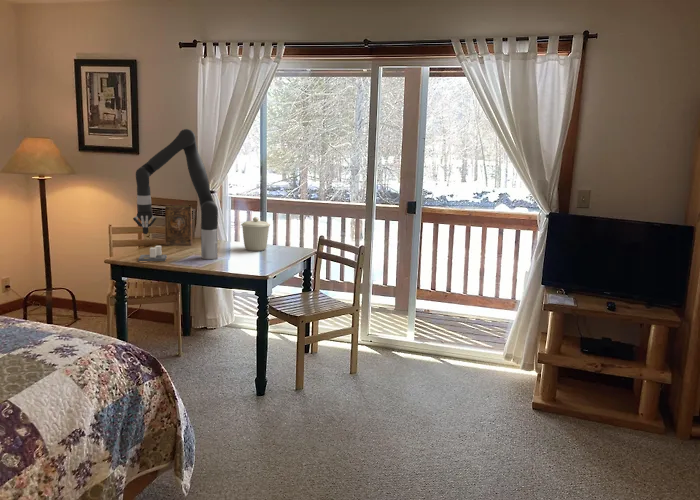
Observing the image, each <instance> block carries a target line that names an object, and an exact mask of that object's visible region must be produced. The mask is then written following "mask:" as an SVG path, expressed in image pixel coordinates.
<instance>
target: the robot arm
mask: <svg viewBox="0 0 700 500" xmlns="http://www.w3.org/2000/svg"><path fill="white" fill-rule="evenodd" d="M182 150H183V152H184V154H185V159H186V166H187V170H188V174H189V177H190V180H191V183H192V185H193V188H194V189H195V192H196V194H197V196H198V201H199V207H200V216H201V218H200V220H201V221H200V222H201V223H200V235H201V237H200V240H201V241H200V244H201V245H200V249H201V250H200V251H201V253H200V255H201V259H203V260H216V259H217V260H218V252H219V251H218V225H219V223H218V222H219V220H218V217H219V209H218V206H217V204H216V203H215V200H214V198H213V196H212V193H211V189H210V184H209V178H208V173H207V171H206V166H205V165H204V163H203V160H202V158H201V156H200V153H199V150H198V146H197V141H196V135H195V132H194V131H193V130H192V129H188V128H184V129H182V130H180V131H179V132H178V134H177V136H176V137H175V138H174V139H173V140H172V141H171V142H170V143H169V144H168V145H166V146H165V147H164V148H162V149H161V150H160V151H158V152H157V153H156V154H154V155H153V156H152V157H151V158H150V159H148V161H147V162H145V163H144V164H143V165H141V166H140V167H138V168H137V169H136V171H135V182H136V196H137V197H136V207H137V208H136V209H137V214H136V216H134V217H133V218H132V220H133V221H134V222H135V223H136V224H137V225H138V226H139V227H141V228H142V233H143V234H144V235H147V234H148V233H149V228H150V227H151V226H152V225H153V224H154V223H155V222H156V220H157V219H158V217H156V216H154V215H153V211H152V209H153V207H152V197H151V186H150V177H151V176H152V175H153V174H154V173H155V172H156V171H158V170H160V169H161V168H162V167H163V166H165V165H166V164H167V163H168V162H169V161H170V160H171V159H172V158H173V157H174V156H176V155H177V154H178V153H179V152H181V151H182ZM150 220H151V221H150ZM140 221H141V222H140ZM149 222H150V223H149Z"/></svg>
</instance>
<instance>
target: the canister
mask: <svg viewBox="0 0 700 500" xmlns="http://www.w3.org/2000/svg"><path fill="white" fill-rule="evenodd" d="M240 225H241V228H242V237H243V238H242V239H243V244H244V248H245V249H246V250H247V251H251V252H262V251H264V250H266V248H267V245H268V238H269V231H270V230H269V229H270V226H271V224H270V223H268V221H263V220H259V217H256V216H254V217H253V218H252V220H247V221H243V222H242V223H241V224H240Z"/></svg>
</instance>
